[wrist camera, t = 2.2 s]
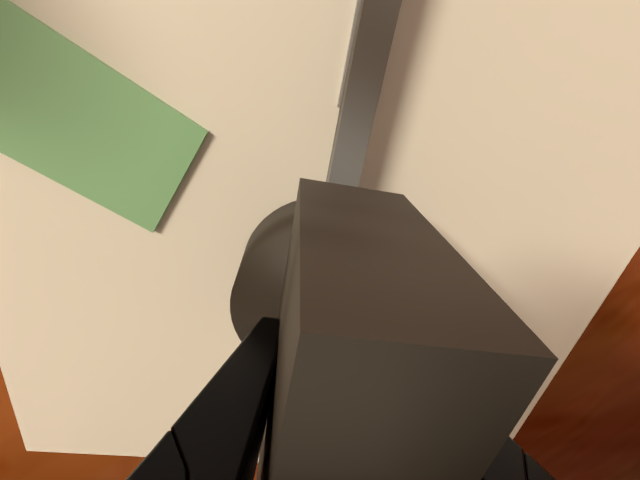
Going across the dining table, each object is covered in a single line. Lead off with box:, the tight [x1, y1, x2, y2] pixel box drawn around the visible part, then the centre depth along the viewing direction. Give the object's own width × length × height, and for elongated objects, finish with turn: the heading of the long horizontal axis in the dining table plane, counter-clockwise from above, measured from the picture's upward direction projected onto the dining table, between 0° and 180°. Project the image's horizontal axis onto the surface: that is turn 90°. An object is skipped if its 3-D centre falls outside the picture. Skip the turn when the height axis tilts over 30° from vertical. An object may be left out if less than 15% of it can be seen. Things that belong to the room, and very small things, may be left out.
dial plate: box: [0, 0, 640, 462], centre depth 11 cm, size 22×22×1 cm
